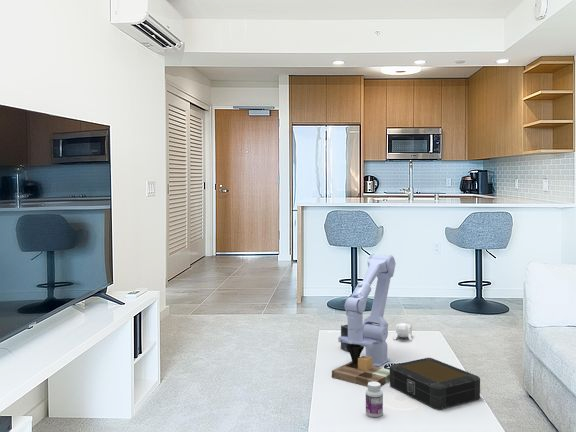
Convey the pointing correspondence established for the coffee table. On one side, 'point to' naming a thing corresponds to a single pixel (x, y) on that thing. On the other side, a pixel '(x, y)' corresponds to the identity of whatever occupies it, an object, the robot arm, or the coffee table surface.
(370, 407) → the pill bottle
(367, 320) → the robot arm
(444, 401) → the cash box
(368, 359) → the block
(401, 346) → the coffee table surface
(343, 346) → the box
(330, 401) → the coffee table surface
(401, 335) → the white rounded figure
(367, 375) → the trap board
